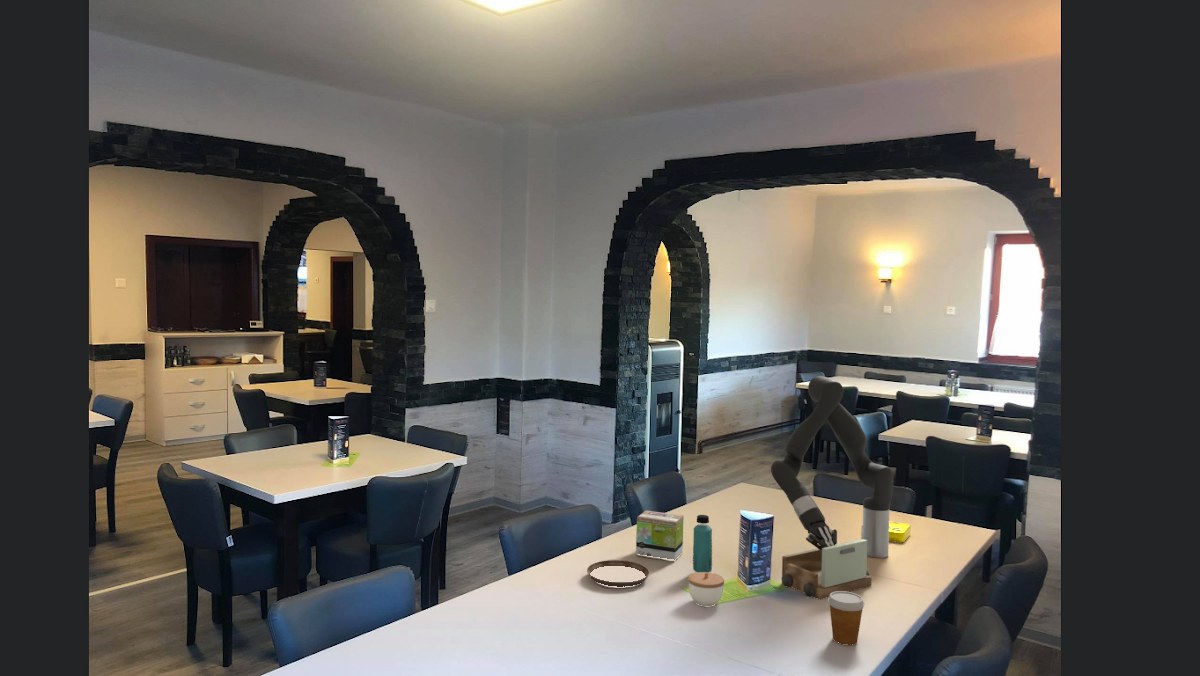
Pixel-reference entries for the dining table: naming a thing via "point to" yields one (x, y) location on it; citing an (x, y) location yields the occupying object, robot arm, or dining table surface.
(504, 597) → the dining table surface
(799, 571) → the drawer box
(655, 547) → the tea box
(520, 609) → the dining table surface
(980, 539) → the dining table surface
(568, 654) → the dining table surface
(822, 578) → the panel
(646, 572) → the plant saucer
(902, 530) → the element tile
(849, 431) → the robot arm
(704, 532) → the beverage bottle
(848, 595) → the disposable coffee cup
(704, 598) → the lidded jar
